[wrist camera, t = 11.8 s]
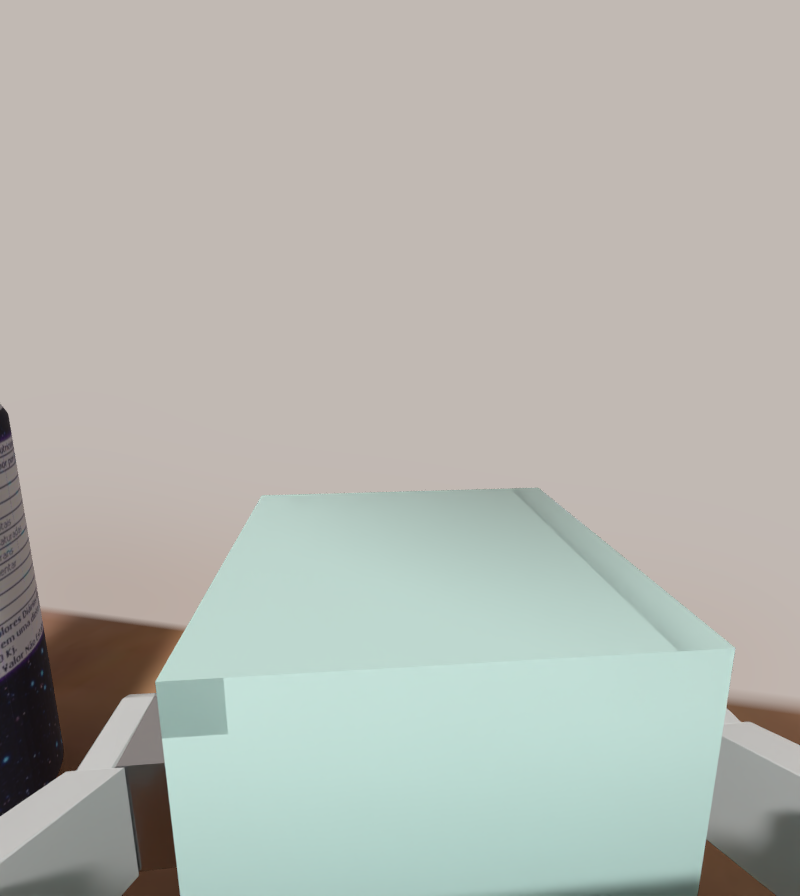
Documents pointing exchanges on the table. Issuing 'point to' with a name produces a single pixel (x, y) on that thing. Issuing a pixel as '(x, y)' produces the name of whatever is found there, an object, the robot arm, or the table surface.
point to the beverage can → (22, 652)
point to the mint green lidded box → (439, 707)
